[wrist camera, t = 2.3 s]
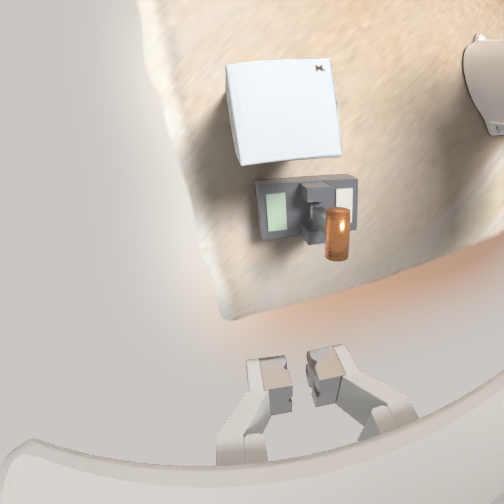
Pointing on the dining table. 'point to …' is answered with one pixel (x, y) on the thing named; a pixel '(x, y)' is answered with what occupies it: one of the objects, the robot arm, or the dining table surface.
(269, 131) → the supplement box
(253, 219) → the dining table surface
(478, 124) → the dining table surface
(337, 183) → the breaker housing
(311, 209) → the breaker lever
